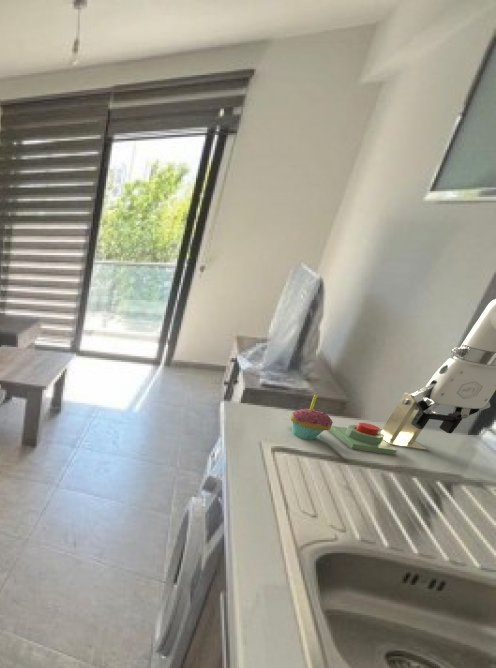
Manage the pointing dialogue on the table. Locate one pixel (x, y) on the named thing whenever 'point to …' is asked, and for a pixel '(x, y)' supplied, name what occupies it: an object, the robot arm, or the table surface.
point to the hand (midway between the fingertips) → (431, 428)
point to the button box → (362, 440)
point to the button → (367, 428)
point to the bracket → (403, 424)
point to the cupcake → (310, 422)
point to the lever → (440, 416)
